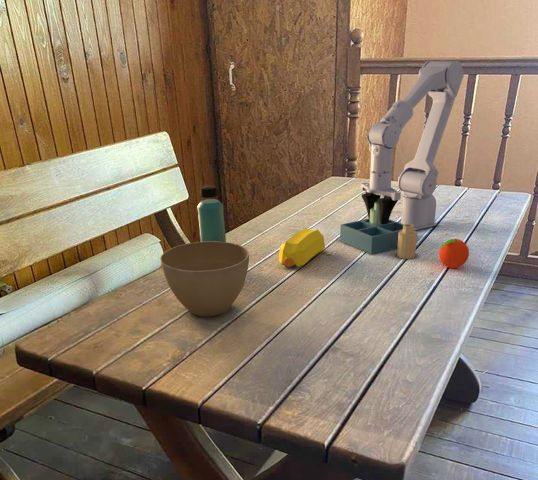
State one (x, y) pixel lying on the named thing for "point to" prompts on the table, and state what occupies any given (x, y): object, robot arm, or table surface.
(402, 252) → the cream bottle
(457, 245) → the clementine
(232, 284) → the brown bowl
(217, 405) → the table surface
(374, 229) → the carrier
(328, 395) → the table surface
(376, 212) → the mint bottle
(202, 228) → the beverage bottle
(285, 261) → the yellow faceted toy car
